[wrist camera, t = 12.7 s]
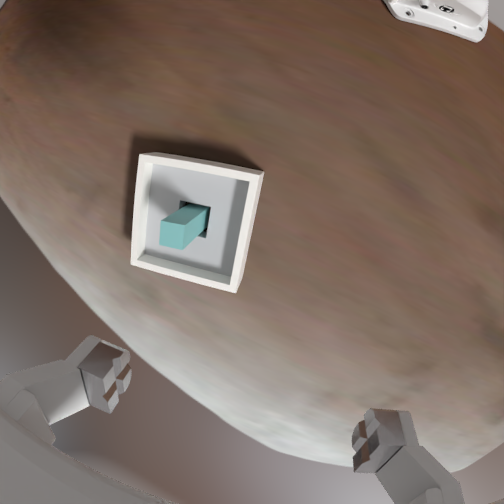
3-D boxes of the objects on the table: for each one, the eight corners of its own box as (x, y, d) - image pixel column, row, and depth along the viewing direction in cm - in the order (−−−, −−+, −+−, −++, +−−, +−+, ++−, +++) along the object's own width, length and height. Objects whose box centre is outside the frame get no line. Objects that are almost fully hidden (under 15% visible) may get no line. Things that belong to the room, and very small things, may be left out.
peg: (209, 206, 42) (184, 225, 33) (207, 226, 44) (182, 250, 34) (189, 203, 43) (160, 220, 33) (187, 222, 44) (159, 244, 35)
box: (264, 171, 40) (259, 175, 35) (242, 277, 45) (235, 293, 41) (156, 151, 41) (139, 154, 36) (145, 252, 47) (130, 264, 42)
